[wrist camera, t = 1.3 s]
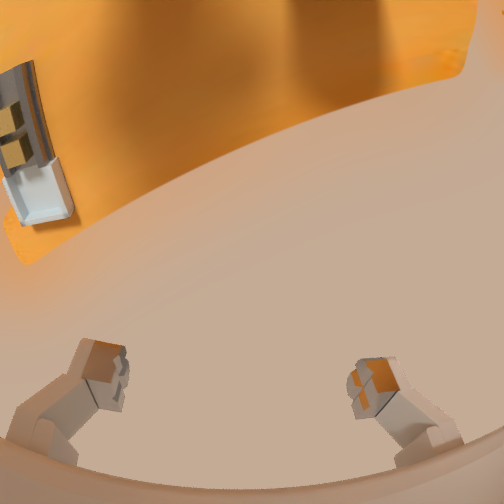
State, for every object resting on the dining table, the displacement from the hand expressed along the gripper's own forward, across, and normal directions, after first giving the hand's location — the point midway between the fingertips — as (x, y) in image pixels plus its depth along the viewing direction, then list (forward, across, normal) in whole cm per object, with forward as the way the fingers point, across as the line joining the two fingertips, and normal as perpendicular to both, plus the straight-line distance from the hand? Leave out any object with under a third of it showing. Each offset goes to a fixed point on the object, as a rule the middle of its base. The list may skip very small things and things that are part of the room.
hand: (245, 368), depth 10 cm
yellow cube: (+35, +34, +1) cm, 49 cm away
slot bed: (+35, +35, -4) cm, 49 cm away
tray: (+38, +32, +9) cm, 51 cm away
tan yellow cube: (+34, +35, -4) cm, 49 cm away
